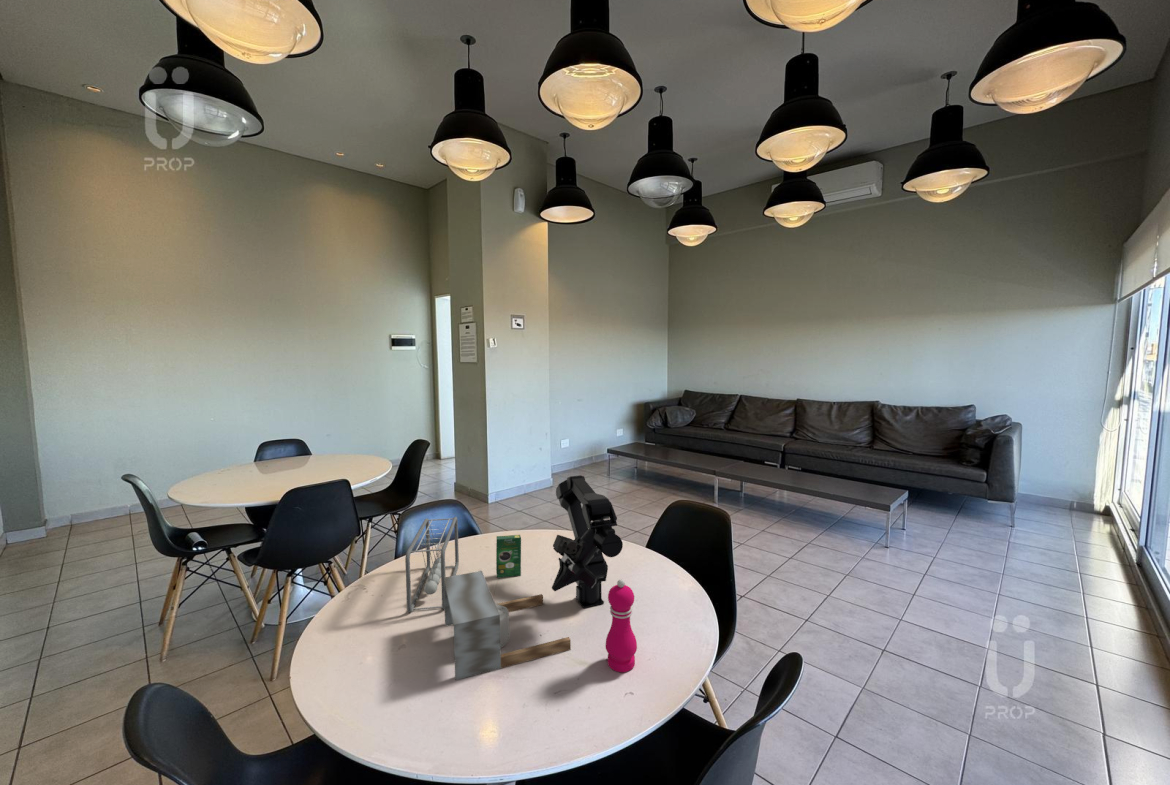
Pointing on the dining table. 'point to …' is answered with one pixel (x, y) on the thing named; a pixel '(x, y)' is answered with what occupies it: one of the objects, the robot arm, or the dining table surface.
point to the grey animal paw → (503, 624)
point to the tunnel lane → (485, 627)
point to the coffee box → (508, 556)
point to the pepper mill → (621, 629)
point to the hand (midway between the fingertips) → (553, 589)
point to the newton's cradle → (438, 565)
